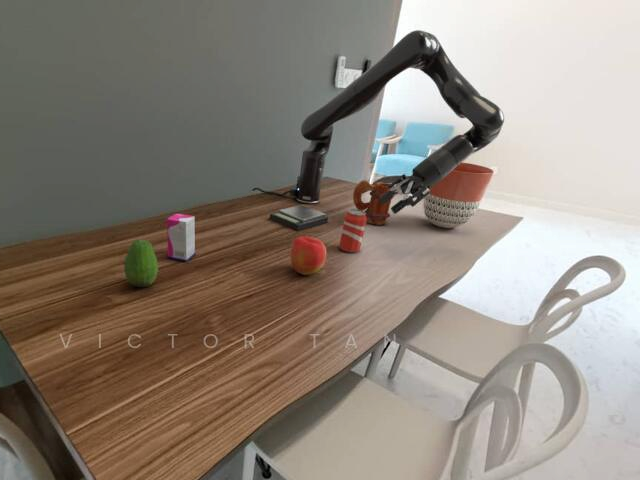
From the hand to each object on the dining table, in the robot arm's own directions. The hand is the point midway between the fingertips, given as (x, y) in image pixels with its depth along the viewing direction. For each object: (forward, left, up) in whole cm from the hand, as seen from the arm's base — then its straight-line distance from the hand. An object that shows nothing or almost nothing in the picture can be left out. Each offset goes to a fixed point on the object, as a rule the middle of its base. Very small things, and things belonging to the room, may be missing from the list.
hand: (386, 206), depth 116 cm
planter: (+1, +43, -14) cm, 45 cm away
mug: (-17, +21, -14) cm, 30 cm away
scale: (-32, -1, -14) cm, 35 cm away
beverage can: (-5, -7, -14) cm, 17 cm away
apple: (-2, -31, -14) cm, 34 cm away
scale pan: (-32, 0, -12) cm, 34 cm away
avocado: (-20, -70, -14) cm, 74 cm away
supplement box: (-29, -53, -14) cm, 62 cm away
